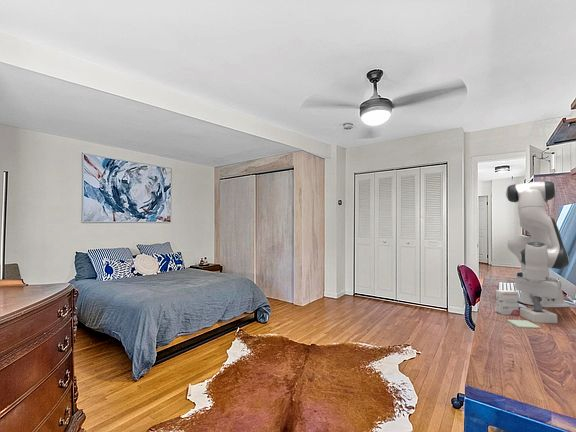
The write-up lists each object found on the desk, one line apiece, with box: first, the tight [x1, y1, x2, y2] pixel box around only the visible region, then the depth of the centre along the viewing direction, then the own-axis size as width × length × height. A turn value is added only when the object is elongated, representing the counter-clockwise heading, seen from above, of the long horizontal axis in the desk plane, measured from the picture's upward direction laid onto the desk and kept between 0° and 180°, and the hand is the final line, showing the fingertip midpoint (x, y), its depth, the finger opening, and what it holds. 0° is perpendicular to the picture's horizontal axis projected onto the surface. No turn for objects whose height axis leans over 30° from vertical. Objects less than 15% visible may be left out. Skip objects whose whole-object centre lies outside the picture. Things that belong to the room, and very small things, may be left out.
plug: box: [533, 296, 543, 312], centre depth 142 cm, size 3×3×10 cm
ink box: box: [495, 289, 520, 316], centre depth 151 cm, size 9×5×12 cm, turn 84°
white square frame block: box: [519, 307, 558, 324], centre depth 142 cm, size 10×10×4 cm
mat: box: [506, 319, 542, 330], centre depth 135 cm, size 9×9×1 cm
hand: (537, 303), depth 142 cm, fingers closed on plug, 3 cm apart
